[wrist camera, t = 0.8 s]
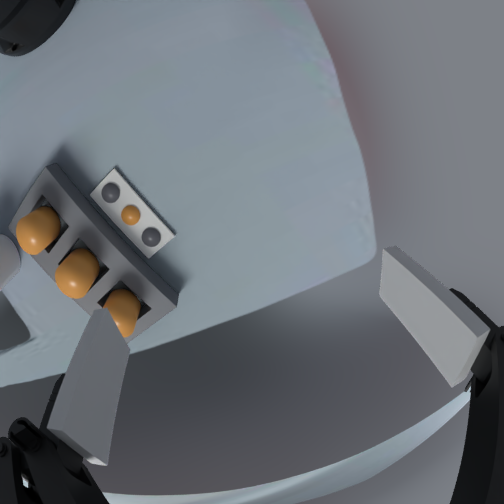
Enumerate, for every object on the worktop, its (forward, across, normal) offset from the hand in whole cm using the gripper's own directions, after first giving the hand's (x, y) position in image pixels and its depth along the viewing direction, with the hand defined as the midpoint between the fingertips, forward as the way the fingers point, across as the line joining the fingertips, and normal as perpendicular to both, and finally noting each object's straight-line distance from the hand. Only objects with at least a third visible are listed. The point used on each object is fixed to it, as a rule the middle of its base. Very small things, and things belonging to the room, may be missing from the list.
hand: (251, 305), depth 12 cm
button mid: (+22, -21, -5) cm, 31 cm away
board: (+24, -21, -5) cm, 32 cm away
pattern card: (+24, -12, -1) cm, 27 cm away
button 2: (+22, -25, +2) cm, 33 cm away
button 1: (+22, -17, -12) cm, 30 cm away
